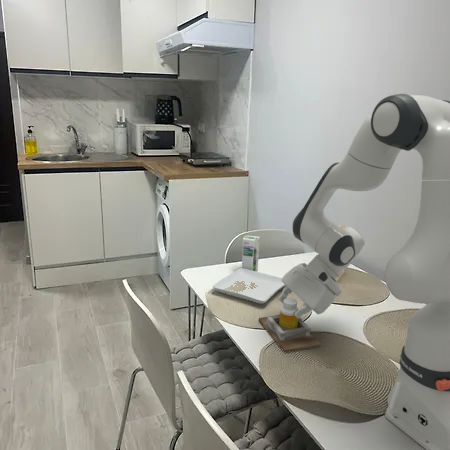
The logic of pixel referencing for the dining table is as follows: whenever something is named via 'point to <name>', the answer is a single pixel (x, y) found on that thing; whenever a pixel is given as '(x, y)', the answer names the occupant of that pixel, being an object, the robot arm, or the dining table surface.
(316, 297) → the robot arm
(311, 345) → the socket board
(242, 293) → the salad plate
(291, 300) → the supplement bottle
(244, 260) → the syrup box
